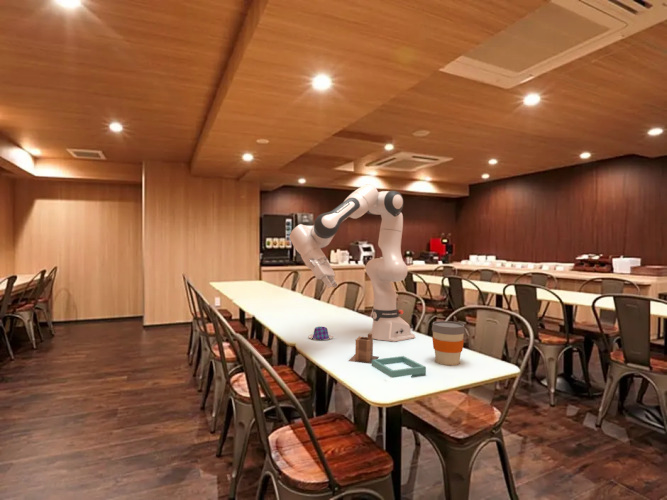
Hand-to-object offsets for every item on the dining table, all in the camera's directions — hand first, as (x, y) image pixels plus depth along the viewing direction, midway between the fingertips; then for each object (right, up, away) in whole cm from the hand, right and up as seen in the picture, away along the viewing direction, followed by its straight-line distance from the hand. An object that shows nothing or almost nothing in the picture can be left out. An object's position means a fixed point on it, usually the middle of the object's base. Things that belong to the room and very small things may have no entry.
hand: (333, 286), depth 159 cm
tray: (+24, -29, -18) cm, 41 cm away
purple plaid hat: (-6, -28, +30) cm, 42 cm away
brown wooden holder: (+12, -28, -7) cm, 31 cm away
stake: (+12, -29, -7) cm, 32 cm away
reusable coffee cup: (+45, -29, -5) cm, 54 cm away
